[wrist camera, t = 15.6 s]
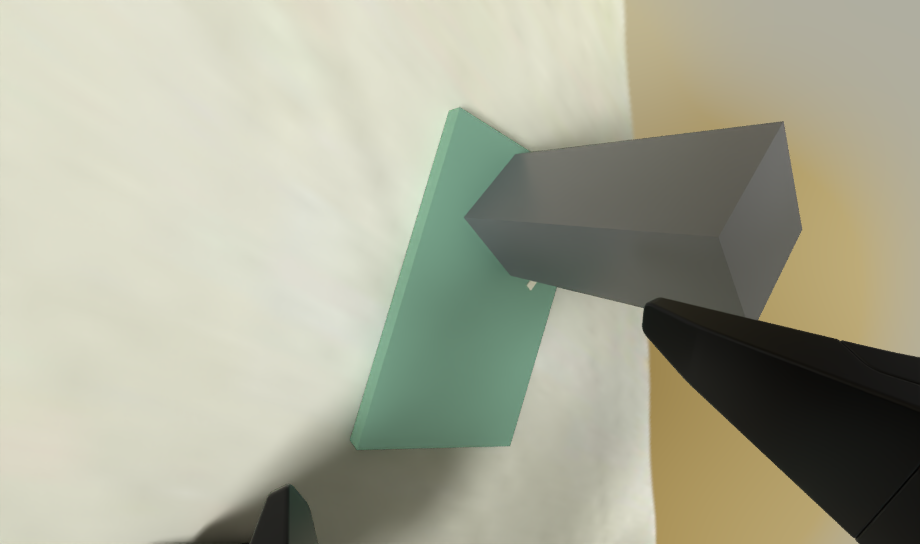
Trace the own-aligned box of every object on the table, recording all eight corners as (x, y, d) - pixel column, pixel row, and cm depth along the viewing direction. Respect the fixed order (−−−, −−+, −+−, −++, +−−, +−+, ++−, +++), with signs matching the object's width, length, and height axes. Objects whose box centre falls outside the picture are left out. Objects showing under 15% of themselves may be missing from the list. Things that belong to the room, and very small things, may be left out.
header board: (500, 438, 27) (537, 466, 24) (349, 440, 21) (377, 478, 18) (574, 187, 27) (619, 186, 25) (449, 110, 21) (491, 97, 18)
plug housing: (510, 275, 24) (751, 334, 14) (463, 217, 21) (718, 236, 11) (554, 215, 25) (802, 229, 15) (515, 154, 23) (783, 121, 13)
